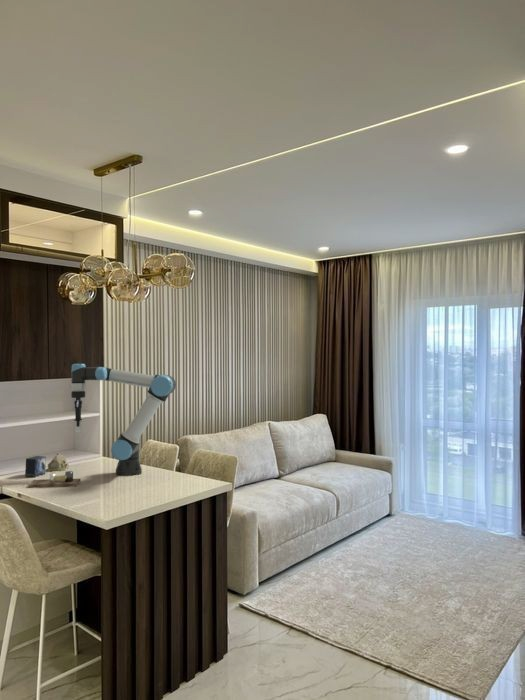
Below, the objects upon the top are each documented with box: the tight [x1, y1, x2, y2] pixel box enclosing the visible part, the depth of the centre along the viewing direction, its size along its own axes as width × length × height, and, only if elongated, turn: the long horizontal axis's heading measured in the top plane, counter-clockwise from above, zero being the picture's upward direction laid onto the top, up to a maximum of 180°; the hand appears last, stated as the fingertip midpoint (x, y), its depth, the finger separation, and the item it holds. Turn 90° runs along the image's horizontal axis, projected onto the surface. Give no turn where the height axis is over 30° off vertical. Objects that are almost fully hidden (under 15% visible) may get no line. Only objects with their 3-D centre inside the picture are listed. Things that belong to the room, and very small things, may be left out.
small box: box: [24, 455, 47, 478], centre depth 307 cm, size 11×6×10 cm, turn 168°
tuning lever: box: [49, 470, 74, 482], centre depth 283 cm, size 12×4×5 cm, turn 132°
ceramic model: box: [45, 453, 69, 472], centre depth 326 cm, size 14×11×10 cm
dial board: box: [27, 478, 81, 488], centre depth 285 cm, size 24×13×2 cm, turn 102°
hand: (78, 432), depth 305 cm, fingers closed
